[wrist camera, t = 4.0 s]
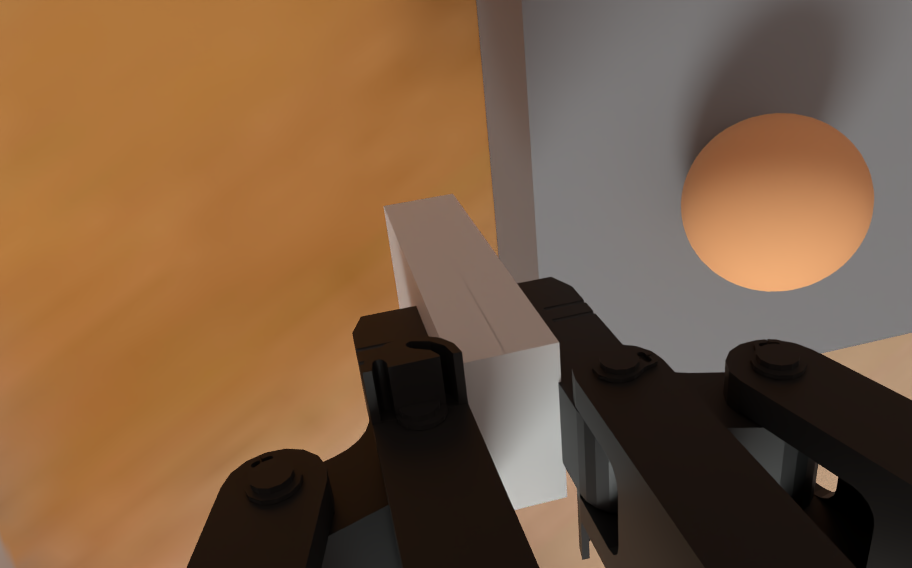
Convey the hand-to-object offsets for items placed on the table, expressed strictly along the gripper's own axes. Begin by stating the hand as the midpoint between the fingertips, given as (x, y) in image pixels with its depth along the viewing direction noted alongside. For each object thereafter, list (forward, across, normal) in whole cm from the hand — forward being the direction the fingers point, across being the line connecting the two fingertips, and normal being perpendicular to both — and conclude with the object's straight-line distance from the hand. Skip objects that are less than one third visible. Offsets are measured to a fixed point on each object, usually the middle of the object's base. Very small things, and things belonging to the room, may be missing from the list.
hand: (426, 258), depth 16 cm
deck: (+5, -11, 0) cm, 12 cm away
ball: (-1, -8, 0) cm, 8 cm away
